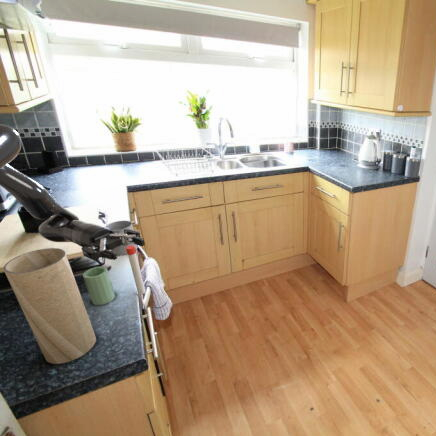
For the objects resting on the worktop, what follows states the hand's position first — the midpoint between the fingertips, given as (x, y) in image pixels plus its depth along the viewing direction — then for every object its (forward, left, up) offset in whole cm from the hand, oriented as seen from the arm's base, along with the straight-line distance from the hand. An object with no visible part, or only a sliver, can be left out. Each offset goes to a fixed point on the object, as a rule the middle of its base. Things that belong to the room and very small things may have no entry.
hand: (129, 249), depth 91 cm
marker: (0, 0, -15) cm, 15 cm away
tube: (-21, -7, -15) cm, 27 cm away
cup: (+10, +30, -15) cm, 35 cm away
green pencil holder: (-8, +6, -15) cm, 18 cm away
